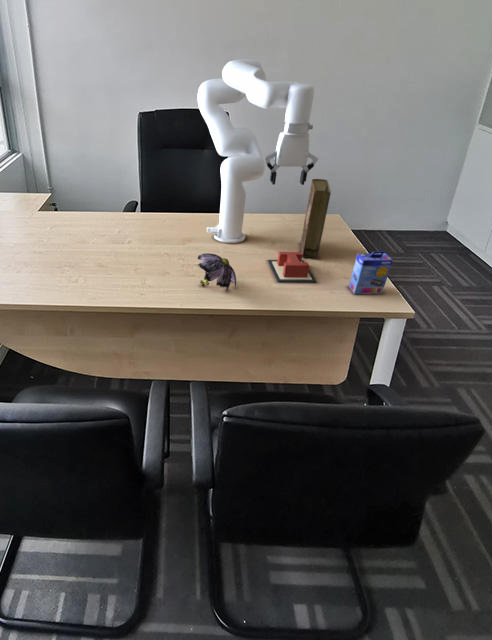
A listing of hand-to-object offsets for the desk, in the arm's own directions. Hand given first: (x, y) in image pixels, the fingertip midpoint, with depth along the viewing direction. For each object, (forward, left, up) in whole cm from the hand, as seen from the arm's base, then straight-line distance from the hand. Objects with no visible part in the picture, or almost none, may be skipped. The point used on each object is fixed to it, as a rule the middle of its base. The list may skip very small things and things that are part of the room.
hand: (287, 183), depth 164 cm
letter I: (+4, -8, -28) cm, 29 cm away
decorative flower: (-24, -20, -28) cm, 42 cm away
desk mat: (+4, -8, -28) cm, 30 cm away
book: (+15, +11, -28) cm, 34 cm away
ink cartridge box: (+25, -23, -28) cm, 44 cm away
